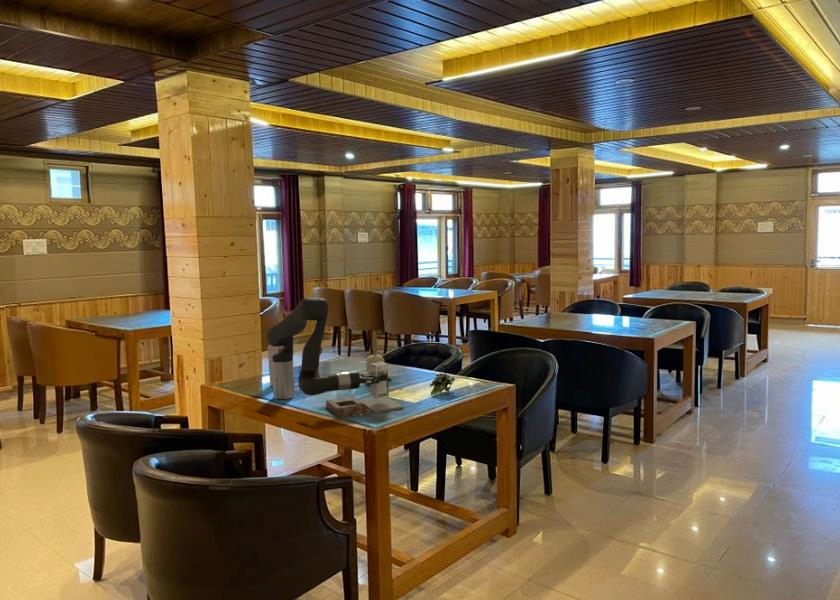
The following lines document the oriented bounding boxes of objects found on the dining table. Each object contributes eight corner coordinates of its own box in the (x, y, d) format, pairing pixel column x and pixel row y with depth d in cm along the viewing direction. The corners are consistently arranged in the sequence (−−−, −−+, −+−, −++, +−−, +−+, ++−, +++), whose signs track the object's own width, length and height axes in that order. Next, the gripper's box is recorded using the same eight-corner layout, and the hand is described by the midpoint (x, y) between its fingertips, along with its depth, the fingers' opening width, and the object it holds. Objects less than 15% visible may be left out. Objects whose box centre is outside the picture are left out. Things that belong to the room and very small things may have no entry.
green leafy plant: (440, 403, 295) (450, 380, 299) (454, 403, 286) (463, 379, 290) (422, 392, 290) (431, 369, 295) (435, 392, 281) (444, 368, 285)
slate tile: (374, 413, 262) (374, 410, 262) (358, 402, 280) (358, 400, 280) (403, 408, 267) (403, 406, 267) (385, 398, 286) (385, 396, 285)
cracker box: (278, 380, 330) (276, 341, 328) (289, 380, 329) (287, 340, 327) (269, 387, 316) (266, 345, 314) (281, 387, 316) (278, 345, 314)
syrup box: (377, 398, 269) (376, 364, 268) (370, 396, 274) (369, 362, 273) (389, 396, 272) (388, 363, 271) (382, 394, 277) (381, 361, 276)
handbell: (372, 384, 313) (370, 334, 311) (355, 380, 325) (352, 331, 322) (397, 379, 323) (395, 330, 321) (379, 375, 335) (377, 328, 332)
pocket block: (340, 418, 256) (340, 410, 256) (326, 407, 274) (326, 400, 274) (368, 413, 261) (368, 406, 261) (353, 403, 279) (352, 396, 279)
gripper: (352, 374, 260) (390, 370, 267) (341, 369, 273) (378, 364, 280) (352, 392, 260) (391, 388, 267) (342, 386, 274) (378, 381, 280)
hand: (384, 376), depth 274 cm, fingers closed on syrup box, 6 cm apart
